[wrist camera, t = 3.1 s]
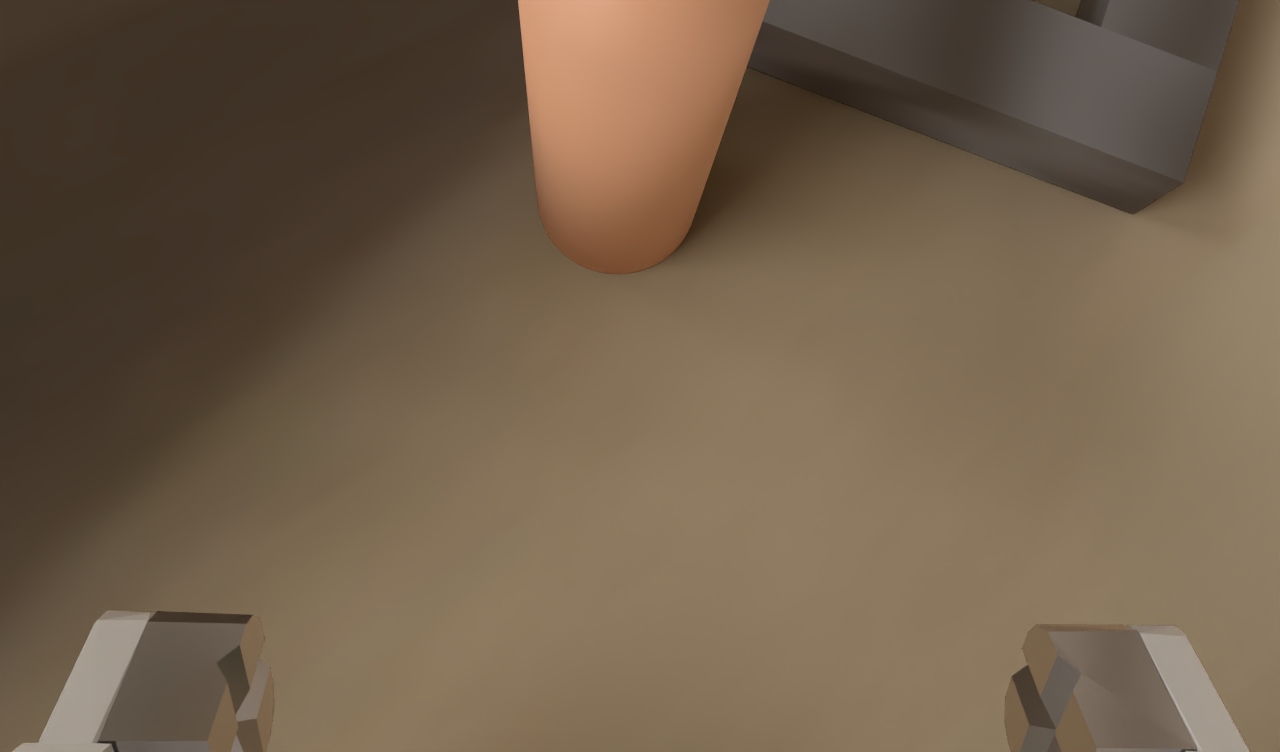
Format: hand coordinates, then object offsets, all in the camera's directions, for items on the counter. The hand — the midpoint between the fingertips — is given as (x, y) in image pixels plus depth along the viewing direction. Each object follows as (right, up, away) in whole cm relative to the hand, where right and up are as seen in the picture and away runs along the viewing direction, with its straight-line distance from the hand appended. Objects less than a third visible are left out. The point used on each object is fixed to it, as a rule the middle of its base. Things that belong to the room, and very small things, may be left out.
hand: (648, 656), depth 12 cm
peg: (-1, +7, +17) cm, 18 cm away
